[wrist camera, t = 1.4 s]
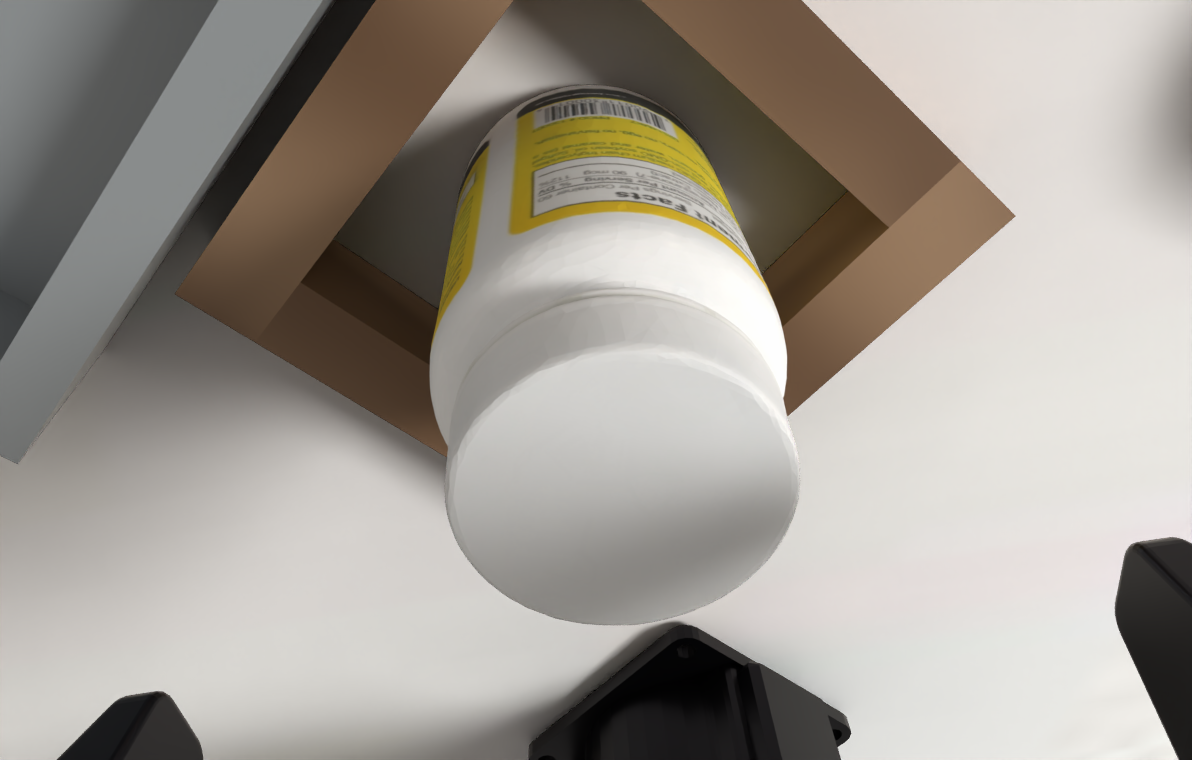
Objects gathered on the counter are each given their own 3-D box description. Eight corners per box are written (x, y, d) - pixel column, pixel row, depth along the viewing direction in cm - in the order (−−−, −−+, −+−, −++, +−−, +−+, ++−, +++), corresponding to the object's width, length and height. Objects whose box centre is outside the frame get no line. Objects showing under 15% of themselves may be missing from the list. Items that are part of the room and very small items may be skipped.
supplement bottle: (565, 360, 19) (578, 703, 12) (405, 187, 17) (307, 483, 10) (765, 226, 18) (910, 526, 11) (619, 19, 16) (680, 225, 9)
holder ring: (615, 499, 21) (621, 561, 20) (209, 243, 17) (175, 294, 16) (970, 172, 17) (1016, 216, 16) (548, -251, 13) (549, -254, 12)
